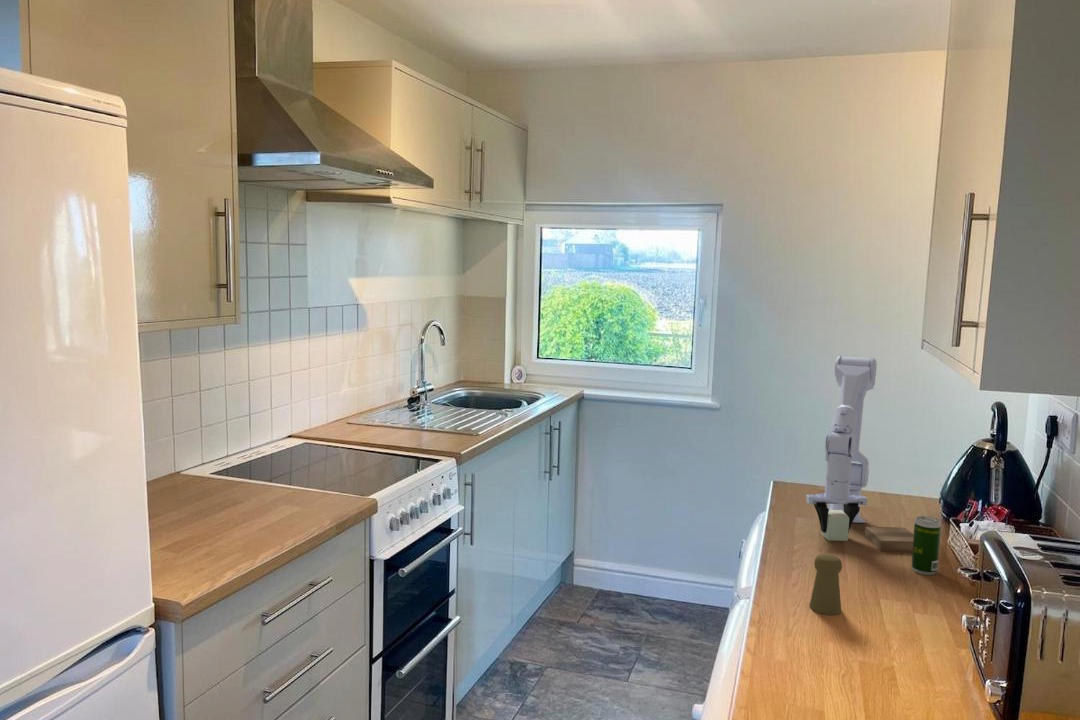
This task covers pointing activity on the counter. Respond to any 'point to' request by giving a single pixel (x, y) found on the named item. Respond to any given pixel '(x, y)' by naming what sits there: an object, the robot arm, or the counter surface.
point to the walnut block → (890, 538)
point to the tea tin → (837, 526)
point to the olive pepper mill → (826, 585)
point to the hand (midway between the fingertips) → (834, 531)
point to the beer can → (926, 545)
